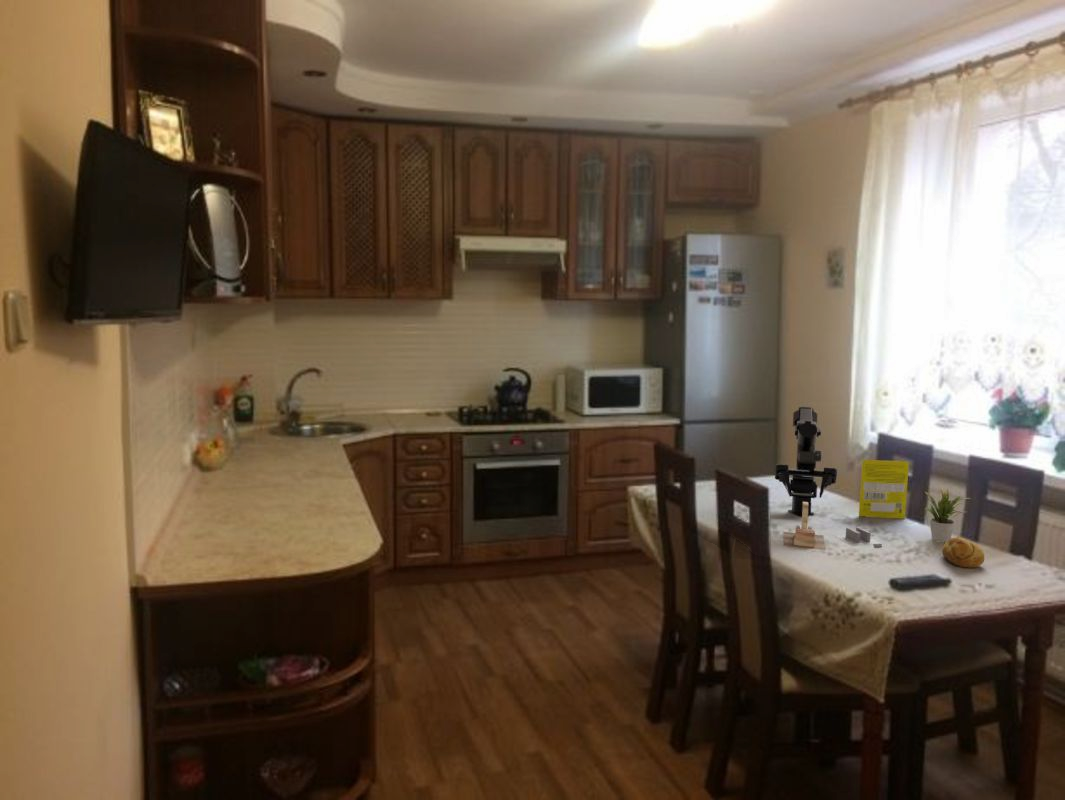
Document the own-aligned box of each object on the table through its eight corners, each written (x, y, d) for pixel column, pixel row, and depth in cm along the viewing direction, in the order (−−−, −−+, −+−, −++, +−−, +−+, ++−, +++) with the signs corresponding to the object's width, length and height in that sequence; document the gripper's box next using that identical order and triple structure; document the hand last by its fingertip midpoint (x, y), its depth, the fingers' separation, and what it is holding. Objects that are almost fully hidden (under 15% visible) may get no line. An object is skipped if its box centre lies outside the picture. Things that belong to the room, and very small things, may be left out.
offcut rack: (783, 534, 265) (783, 522, 264) (823, 538, 261) (823, 526, 261) (783, 548, 250) (784, 535, 250) (825, 552, 247) (826, 539, 247)
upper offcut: (795, 534, 254) (795, 528, 254) (814, 536, 253) (814, 529, 252) (795, 537, 251) (796, 531, 250) (814, 539, 249) (814, 533, 249)
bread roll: (933, 555, 246) (935, 529, 245) (966, 555, 246) (968, 529, 245) (955, 570, 234) (957, 542, 232) (990, 570, 234) (992, 542, 232)
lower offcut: (793, 541, 255) (794, 534, 254) (814, 543, 253) (815, 536, 253) (794, 545, 251) (794, 537, 251) (815, 547, 249) (815, 539, 249)
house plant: (978, 549, 253) (982, 496, 250) (931, 547, 253) (935, 495, 251) (956, 535, 267) (961, 485, 265) (912, 534, 267) (916, 484, 265)
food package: (904, 518, 286) (908, 461, 284) (905, 519, 285) (909, 461, 282) (858, 516, 288) (862, 459, 285) (859, 517, 287) (862, 460, 284)
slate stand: (833, 538, 261) (834, 526, 261) (862, 537, 263) (863, 524, 263) (852, 548, 252) (853, 535, 251) (881, 546, 254) (882, 533, 253)
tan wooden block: (800, 536, 260) (802, 501, 259) (806, 536, 260) (808, 502, 258) (801, 539, 256) (803, 504, 255) (806, 540, 256) (808, 505, 255)
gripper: (777, 439, 268) (775, 480, 259) (838, 442, 263) (838, 484, 254) (775, 458, 277) (773, 498, 268) (835, 462, 272) (835, 503, 263)
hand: (805, 496), depth 263 cm, fingers open, 9 cm apart
